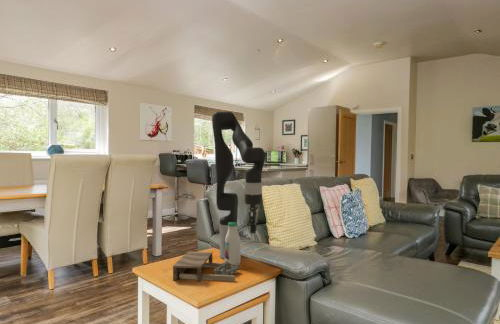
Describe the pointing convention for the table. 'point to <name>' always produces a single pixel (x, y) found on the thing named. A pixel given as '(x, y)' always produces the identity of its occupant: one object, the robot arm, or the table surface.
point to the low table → (199, 267)
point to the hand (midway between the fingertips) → (253, 231)
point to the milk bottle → (232, 244)
